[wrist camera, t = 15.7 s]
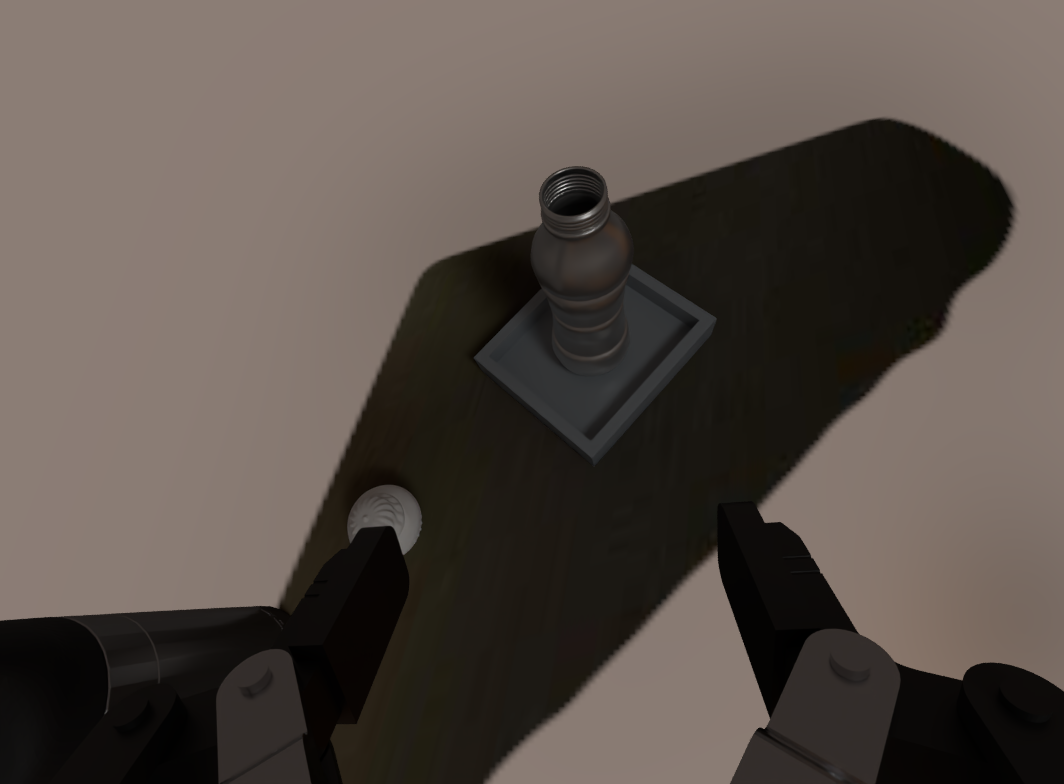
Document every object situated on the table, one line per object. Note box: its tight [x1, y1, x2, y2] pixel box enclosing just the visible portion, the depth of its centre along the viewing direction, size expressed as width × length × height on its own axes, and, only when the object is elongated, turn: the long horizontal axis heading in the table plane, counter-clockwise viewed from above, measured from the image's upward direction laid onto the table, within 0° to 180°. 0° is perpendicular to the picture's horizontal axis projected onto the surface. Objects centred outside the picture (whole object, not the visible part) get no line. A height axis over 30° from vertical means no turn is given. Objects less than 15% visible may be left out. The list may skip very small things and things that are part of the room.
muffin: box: [347, 485, 422, 555], centre depth 41 cm, size 6×6×7 cm
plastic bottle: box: [530, 166, 634, 376], centre depth 36 cm, size 6×7×20 cm
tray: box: [474, 264, 717, 466], centre depth 45 cm, size 16×14×3 cm
